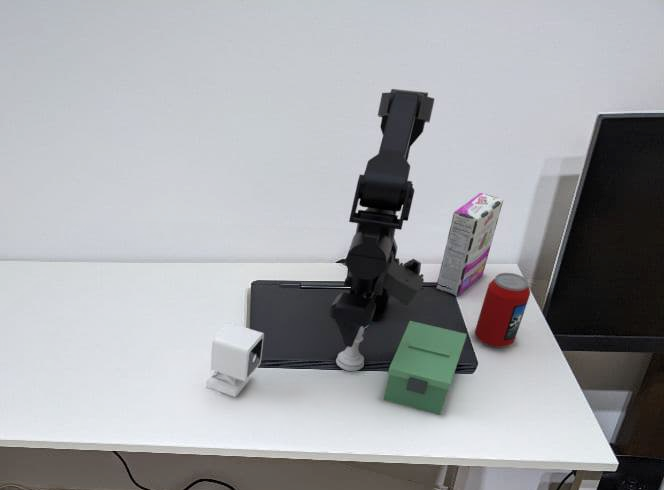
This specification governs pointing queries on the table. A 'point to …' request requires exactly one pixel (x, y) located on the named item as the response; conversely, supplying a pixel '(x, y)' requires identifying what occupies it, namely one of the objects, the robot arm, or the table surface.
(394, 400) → the box
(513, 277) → the beverage can
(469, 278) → the candy bar box
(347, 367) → the chess piece
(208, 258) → the table surface
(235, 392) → the security camera
